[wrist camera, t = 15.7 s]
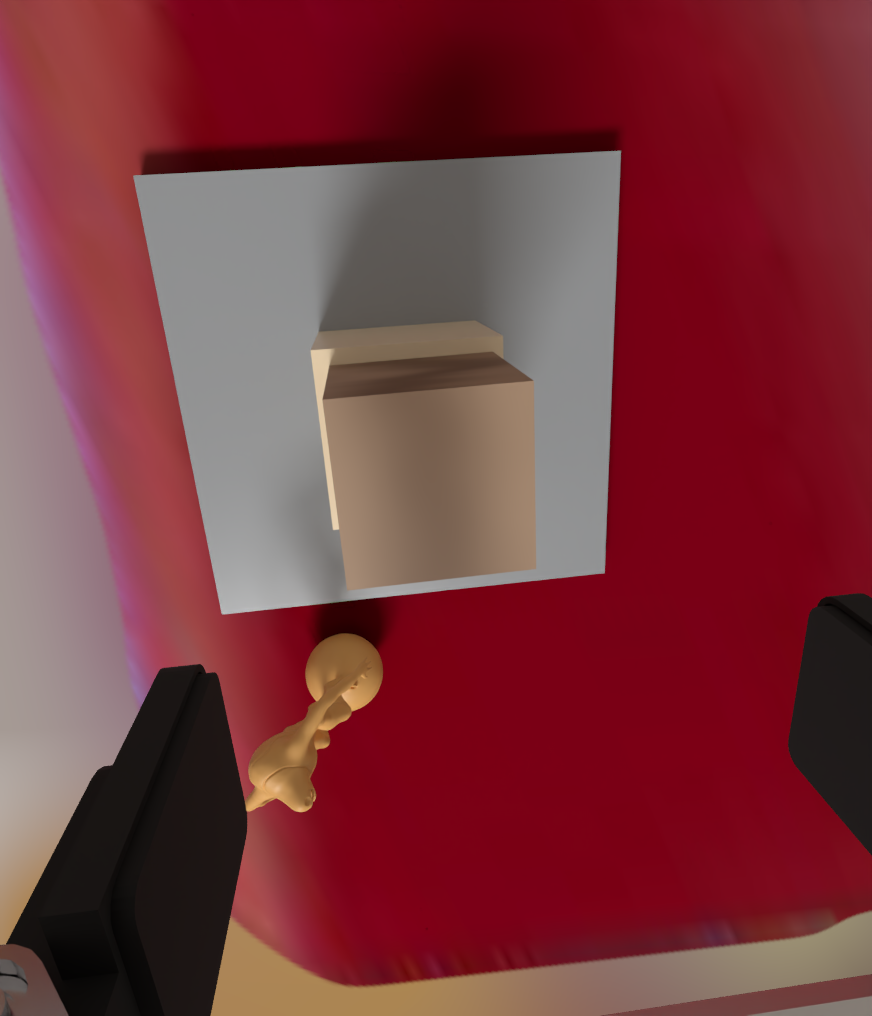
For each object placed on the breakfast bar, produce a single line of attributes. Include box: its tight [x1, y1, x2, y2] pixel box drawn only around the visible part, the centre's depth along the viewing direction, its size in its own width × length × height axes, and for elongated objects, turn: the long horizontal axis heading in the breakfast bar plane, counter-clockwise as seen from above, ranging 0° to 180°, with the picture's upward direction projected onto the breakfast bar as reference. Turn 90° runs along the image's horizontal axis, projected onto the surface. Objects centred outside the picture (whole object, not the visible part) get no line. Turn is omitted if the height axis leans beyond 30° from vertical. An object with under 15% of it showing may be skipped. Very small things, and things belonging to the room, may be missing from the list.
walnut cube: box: [322, 352, 536, 591], centre depth 23 cm, size 6×6×6 cm
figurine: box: [245, 633, 383, 812], centre depth 31 cm, size 8×6×12 cm
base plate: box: [134, 151, 621, 614], centre depth 29 cm, size 20×20×7 cm
